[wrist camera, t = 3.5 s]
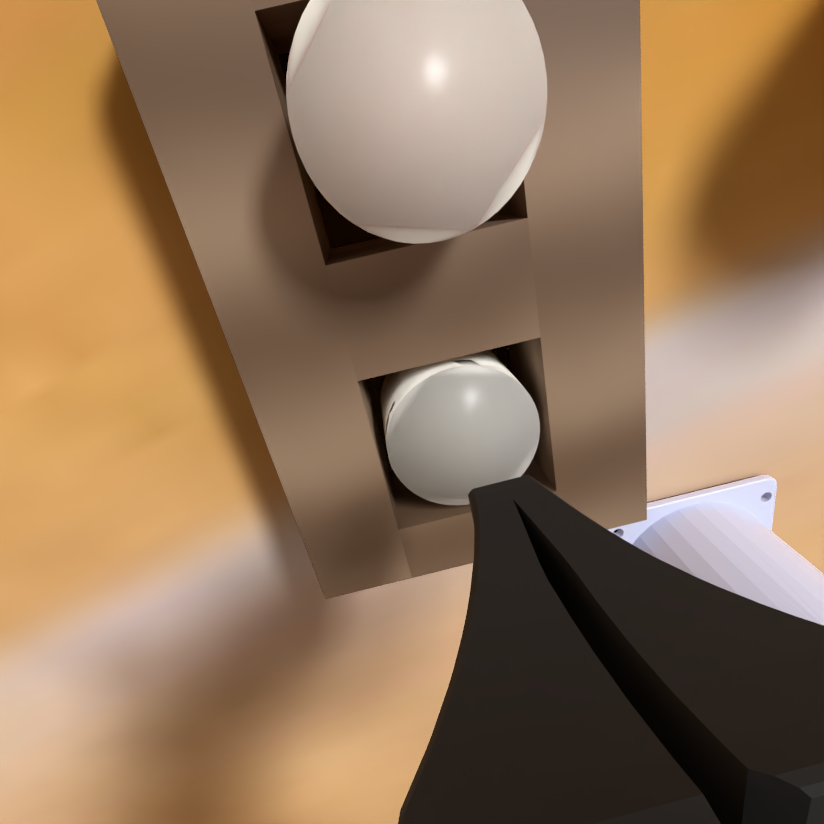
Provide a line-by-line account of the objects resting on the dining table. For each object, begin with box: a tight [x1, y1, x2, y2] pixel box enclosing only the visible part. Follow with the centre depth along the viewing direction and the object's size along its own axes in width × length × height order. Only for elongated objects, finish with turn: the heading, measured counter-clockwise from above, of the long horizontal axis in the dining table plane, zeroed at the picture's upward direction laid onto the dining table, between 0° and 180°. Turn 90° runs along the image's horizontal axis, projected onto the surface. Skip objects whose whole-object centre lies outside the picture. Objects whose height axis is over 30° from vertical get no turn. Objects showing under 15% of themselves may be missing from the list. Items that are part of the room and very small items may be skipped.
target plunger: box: [286, 0, 547, 244], centre depth 11 cm, size 5×5×4 cm
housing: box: [96, 0, 647, 599], centre depth 16 cm, size 19×12×4 cm, turn 12°
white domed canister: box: [381, 350, 540, 505], centre depth 18 cm, size 5×5×4 cm
